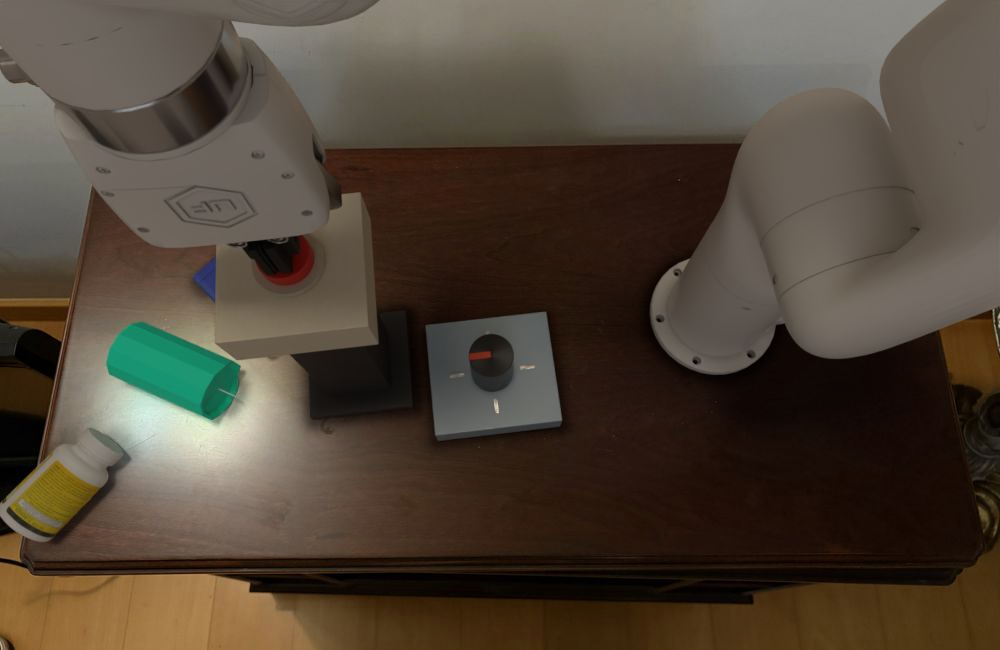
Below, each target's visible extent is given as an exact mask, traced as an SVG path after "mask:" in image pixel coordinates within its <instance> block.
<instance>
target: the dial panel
mask: <svg viewBox="0 0 1000 650" xmlns="http://www.w3.org/2000/svg"><path fill="white" fill-rule="evenodd" d="M424 327H425V337H426V348H427V349H426V350H427V357H428V372H429V382H430V395H431V406H432V416H433V427H434V428H433V429H434V436H435V437H436V440H437V441H438V442H440V441H450V440H451V441H452V440H458V439H466V438H475V437H484V436H493V435H500V434H509V433H518V432H527V431H533V430H543V429H551V428H561V425H562V422H563V416H562V415H563V414H562V408H561V402H560V394H559V389H558V381H557V375H556V367H555V361H554V356H553V348H552V341H551V334H550V327H549V322H548V314H547V311H540V312H539V311H538V312H529V313H522V314H521V313H520V314H512V315H504V316H495V317H487V318H486V317H485V318H478V319H476V318H475V319H467V320H460V321H451V322H440V323H434V324H433V323H431V324H425V326H424ZM486 334H497V335H500V336H502V337H504V338H505V339H506V340H508V342H509V343H510V344H511V346H512V348H513V352H514V363H513V376H512V379H511V381H510V383H509V384H508V385H507V386H506V387H505V388H503V389H502V390H499V391H495V392H489V391H485V390H483V389H481V388H479V387H478V386H477V385H476V384H475V382H474V380H473V378H472V374H471V368H470V362H469V350H470V347H471V345H472V344H473V342H474V341H475V340H476V339H478V338H479V337H481V336H483V335H486Z"/></svg>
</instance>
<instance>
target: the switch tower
mask: <svg viewBox="0 0 1000 650" xmlns="http://www.w3.org/2000/svg"><path fill="white" fill-rule="evenodd" d="M371 221H372V220H371V216H370V214H369V211H368V209H367V206H366V202H365V201H364V198H363V196H362V193H361V192H360V191H359V192H348V193H342V207H340V208H338V209H335V210H330V212H329V221H328V223H327V224H326V225H325V226H323V227H322V228H320V229H319V230H316V231H314V232H311V233H308V234H304V235H303V236H304V237H305V238H306V240H307V241H308V243H309V244H310V246H311V248H312V250H313V253H314V264H313V267H312V269H311V271H310V273H309V274H308V275H307V277H305V278H304V279H303V280H302V281H300V282H298V283H296V284H293V285H288V286H281V285H276V284H274V283H272V282H270V281H268V280H267V279H266V278H265V277H264V275H263V274H262V273H261V272H260V270H259V269H258V267H257V265H256V262H255V260H254V259H250V258H249V256H248V255H247V254H246V253H245V251H244V250H243V249H242V248H232V247H229V246H228V245H226V244H219V245H215V257H216V296H215V302H214V306H215V307H214V309H215V310H214V344H215V345H216V346H217V347H219V348H220V349H222V351H224V352H225V353H226V354H227V355H229V356H230V357H231V358H233V359H234V360H235V361H244V360H253V359H260V358H261V359H263V358H271V357H279V356H287V355H289V356H290V357H291V358H292V359H293V360H294V361H295V362H296V363H297V364H298V365H299V366H300V367H301V368H302V369H303V370H304V371H305V372H306V373H307V374H308V392H309V393H308V395H309V418H310V419H311V420H312V421H317V420H327V419H334V418H343V417H351V416H361V415H370V414H377V413H385V412H386V413H387V412H395V411H404V410H411V409H415V397H414V385H413V371H412V360H411V359H412V358H411V347H410V346H411V345H410V333H409V322H408V320H409V319H408V313H407V310H406V309H403V310H394V311H386V312H378V310H377V297H376V283H375V282H376V280H375V267H374V252H373V236H372V235H373V234H372V222H371Z"/></svg>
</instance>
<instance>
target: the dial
mask: <svg viewBox="0 0 1000 650" xmlns="http://www.w3.org/2000/svg"><path fill="white" fill-rule="evenodd" d="M469 362H470V368H471V374H472V378H473V380H474V382H475V384H476V385H477V386H478V387H479V388H481V389H483V390H485V391H489V392H495V391H499V390H502V389H503V388H505V387H506V386H507V385H508V384H509V383H510V381H511V379H512V376H513V363H514V352H513V348H512V346H511V344H510V343H509V342H508V340H506V339H505V338H504V337H502V336H500V335H497V334H486V335H483V336H481V337H479V338H478V339H476V340H475V341H474V342H473V344H472V345H471V347H470V350H469Z"/></svg>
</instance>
